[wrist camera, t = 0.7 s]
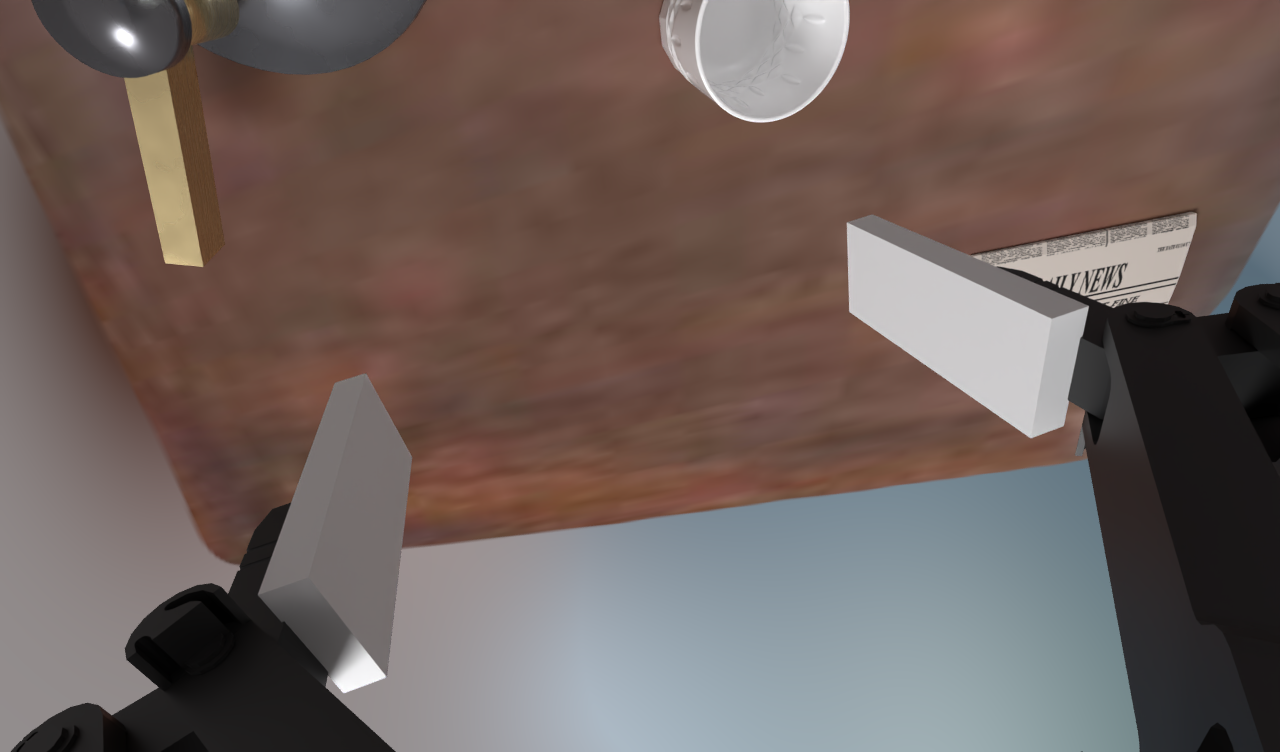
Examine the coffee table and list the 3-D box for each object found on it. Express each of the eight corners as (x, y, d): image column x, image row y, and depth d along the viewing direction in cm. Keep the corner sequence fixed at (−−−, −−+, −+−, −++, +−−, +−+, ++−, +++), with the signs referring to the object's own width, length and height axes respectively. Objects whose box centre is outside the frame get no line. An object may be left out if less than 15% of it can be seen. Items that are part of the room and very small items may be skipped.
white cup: (643, 87, 38) (685, 118, 30) (655, -65, 34) (708, -76, 26) (758, 94, 40) (827, 125, 32) (783, -50, 36) (870, -56, 28)
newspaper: (938, 369, 59) (955, 381, 56) (955, 248, 53) (974, 256, 50) (1143, 325, 61) (1166, 335, 59) (1182, 205, 55) (1209, 211, 53)
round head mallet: (139, -64, 28) (10, -77, 20) (246, -40, 29) (162, -43, 22) (191, 211, 35) (108, 277, 27) (276, 221, 36) (220, 287, 28)
